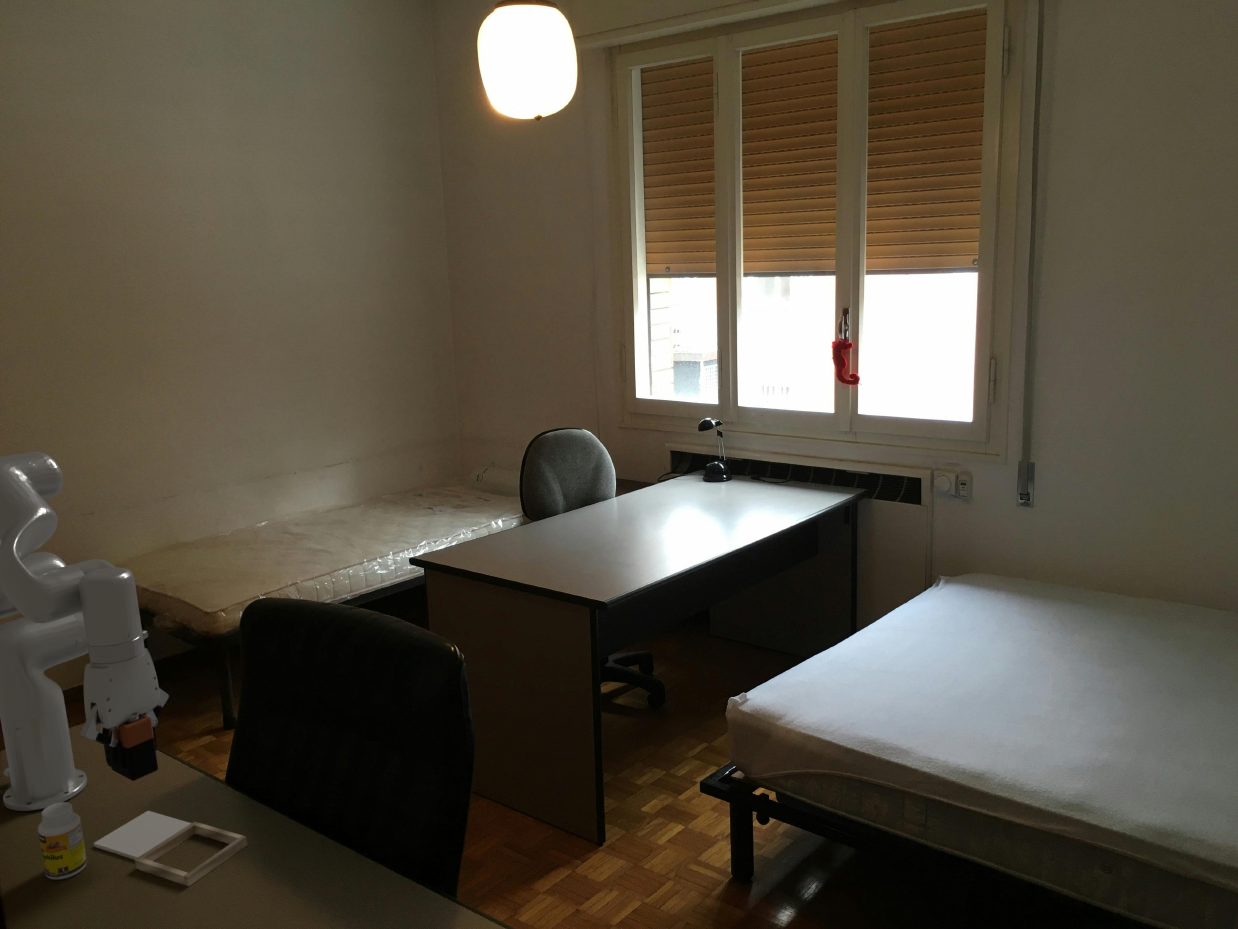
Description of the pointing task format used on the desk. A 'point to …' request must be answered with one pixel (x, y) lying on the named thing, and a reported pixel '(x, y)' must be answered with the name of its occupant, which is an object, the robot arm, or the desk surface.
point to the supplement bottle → (61, 841)
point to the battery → (137, 747)
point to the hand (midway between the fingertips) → (132, 757)
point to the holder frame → (188, 879)
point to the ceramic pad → (141, 834)
